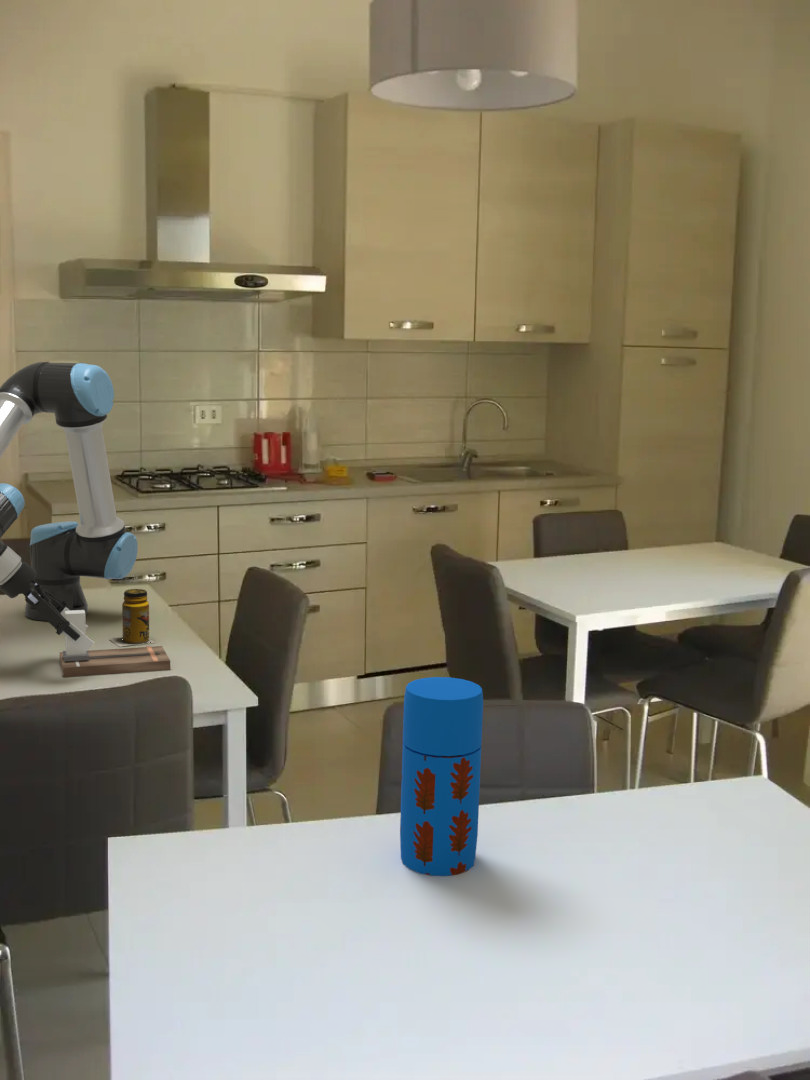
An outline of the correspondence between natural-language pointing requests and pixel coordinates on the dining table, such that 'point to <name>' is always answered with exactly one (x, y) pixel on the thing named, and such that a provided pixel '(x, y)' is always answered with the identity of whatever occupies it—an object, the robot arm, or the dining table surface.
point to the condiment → (134, 619)
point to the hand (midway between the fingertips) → (86, 639)
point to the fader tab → (71, 649)
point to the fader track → (117, 661)
